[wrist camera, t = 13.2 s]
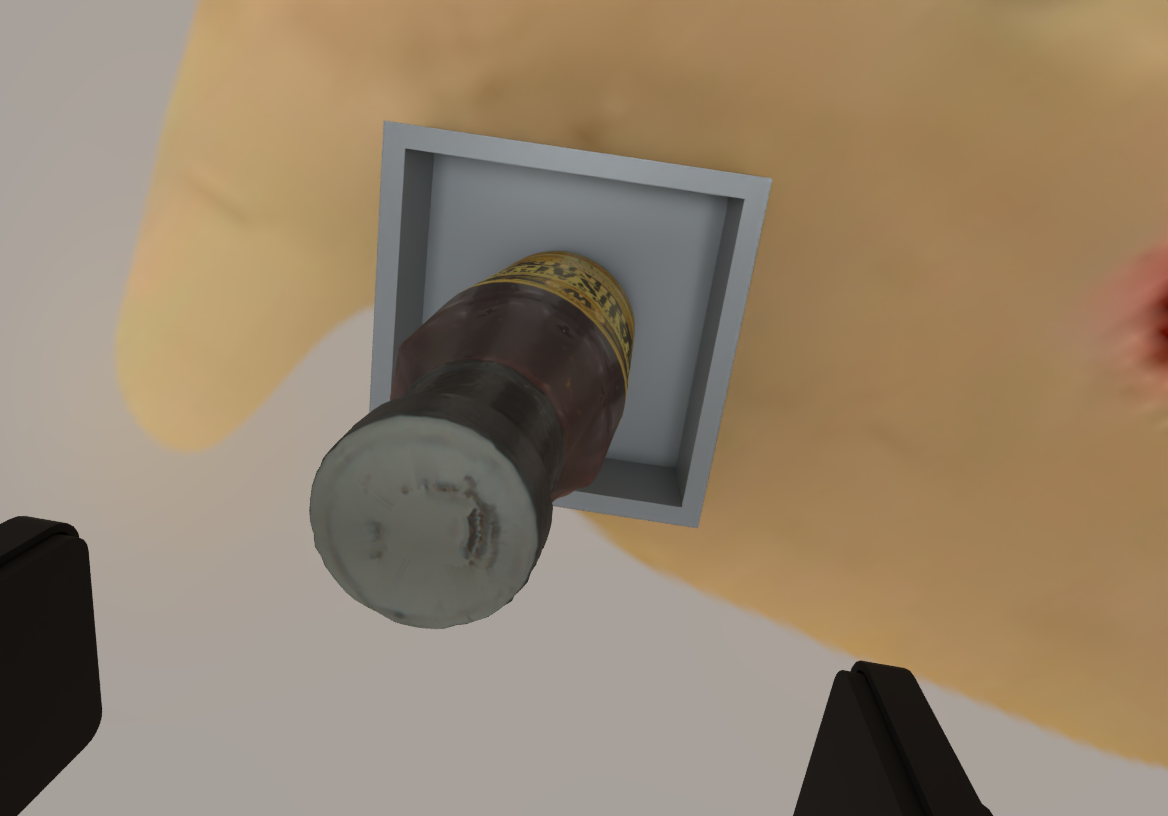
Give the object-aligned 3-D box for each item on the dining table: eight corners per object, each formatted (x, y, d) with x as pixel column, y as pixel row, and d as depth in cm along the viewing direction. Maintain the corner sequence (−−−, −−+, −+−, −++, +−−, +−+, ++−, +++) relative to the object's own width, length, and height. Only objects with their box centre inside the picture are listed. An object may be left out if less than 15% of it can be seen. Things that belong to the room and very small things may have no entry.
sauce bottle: (663, 303, 30) (723, 514, 12) (578, 417, 32) (509, 760, 13) (535, 211, 30) (373, 274, 11) (455, 332, 31) (194, 572, 12)
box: (749, 177, 30) (772, 178, 25) (687, 478, 34) (697, 528, 29) (422, 129, 30) (383, 120, 25) (402, 434, 34) (366, 476, 29)
